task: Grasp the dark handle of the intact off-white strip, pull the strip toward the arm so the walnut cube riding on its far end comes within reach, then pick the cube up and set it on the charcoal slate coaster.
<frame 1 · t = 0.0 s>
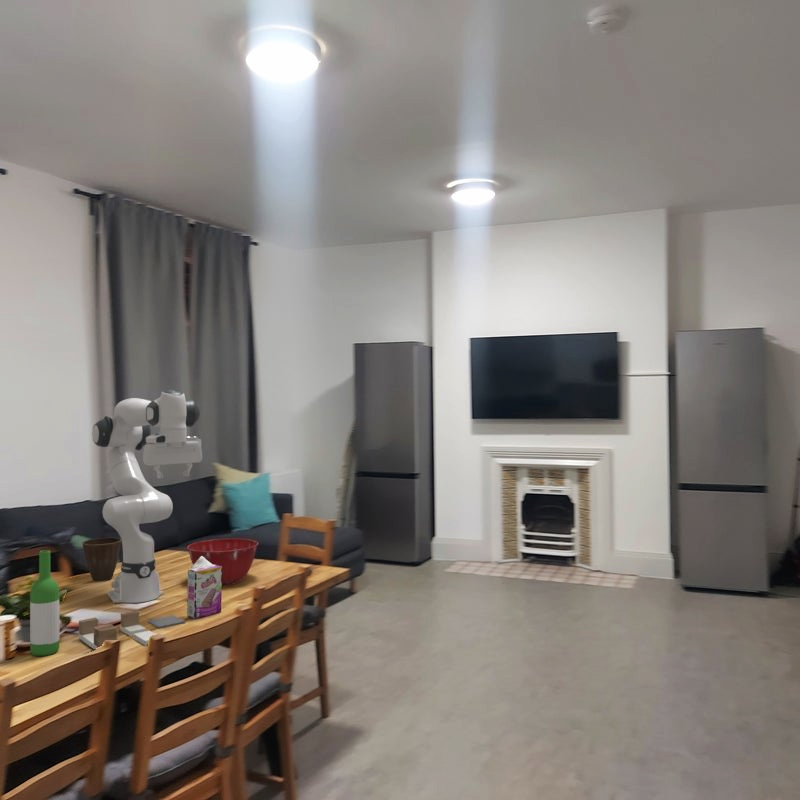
hand: (173, 477, 252), 48 cm above the table, fingers open, 8 cm apart
coaster: (166, 622, 245), on the table
plant pot: (101, 579, 304), on the table
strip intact: (98, 635, 222), point 3 cm above the table, slide at 0.0 cm, touching cube
cube: (105, 644, 218), point 2 cm above the table, touching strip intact
mixing bowl: (223, 582, 300), on the table
strip broken: (140, 636, 231), on the table
candy bar box: (204, 615, 254), on the table
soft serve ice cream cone: (202, 598, 275), on the table
wine bottle: (44, 653, 216), on the table
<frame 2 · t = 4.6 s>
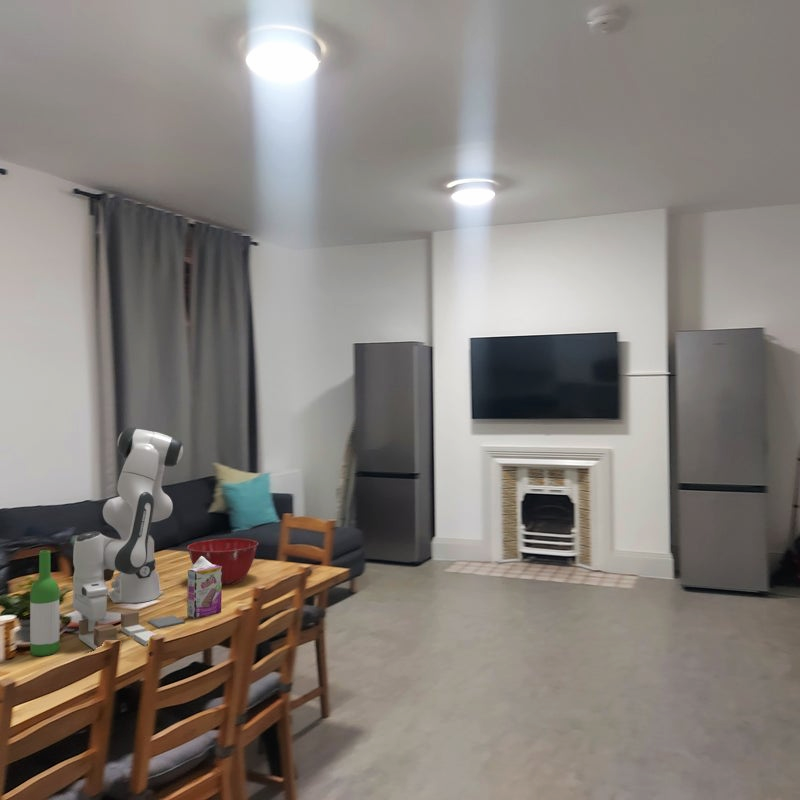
hand: (88, 629, 228), 3 cm above the table, fingers closed on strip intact, 2 cm apart
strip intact: (98, 635, 222), point 3 cm above the table, slide at 0.0 cm, touching cube, gripper
everything else where it was.
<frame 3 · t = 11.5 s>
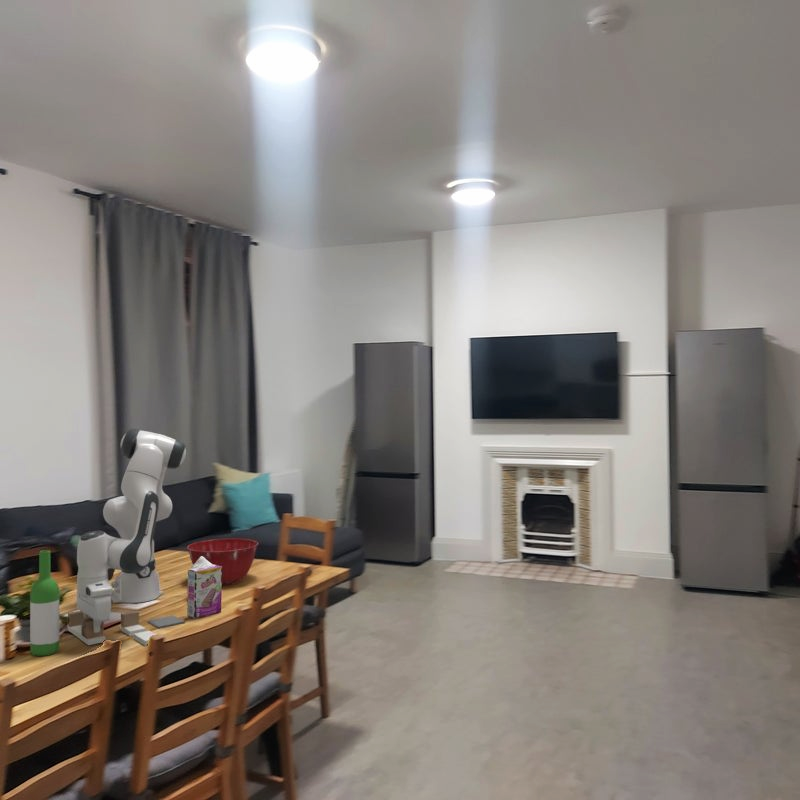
hand: (92, 629, 226), 4 cm above the table, fingers closed on cube, 5 cm apart
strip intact: (85, 626, 230), point 3 cm above the table, slide at 11.0 cm, touching cube
cube: (92, 635, 226), point 2 cm above the table, touching gripper, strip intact
everything else where it was.
when the fingers open (4 cm above the table, at t = 17.4 s): cube drops 1 cm, resting on coaster.
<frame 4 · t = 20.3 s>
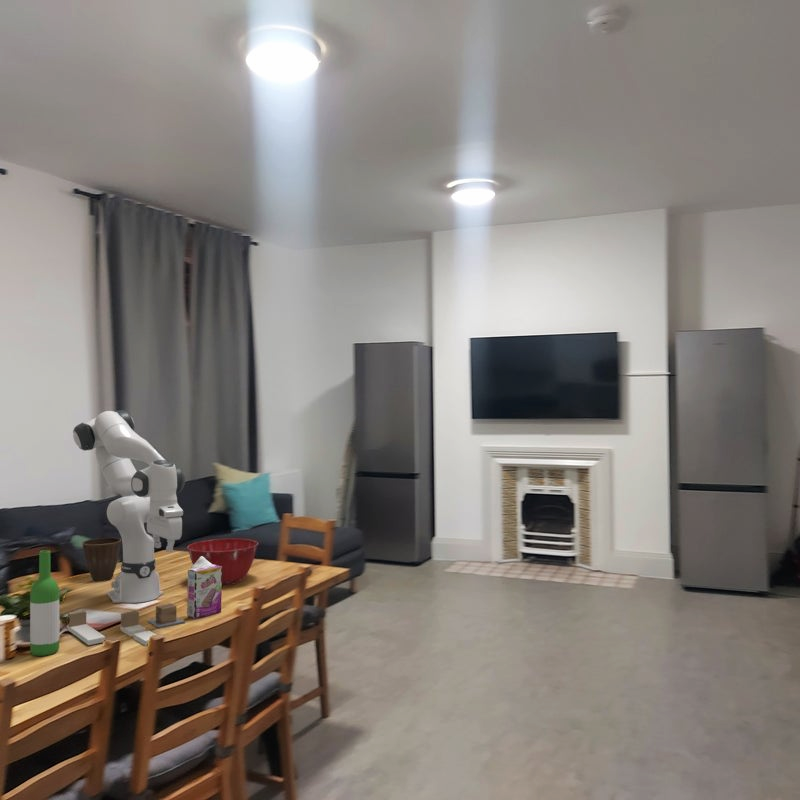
hand: (163, 549, 246), 24 cm above the table, fingers open, 8 cm apart
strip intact: (85, 626, 230), point 3 cm above the table, slide at 11.0 cm
cube: (166, 620, 245), point 1 cm above the table, touching coaster
everything else where it was.
at the end: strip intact slide at 11.0 cm; cube inside the target area on the coaster (0.0 cm from its centre), point 0.6 cm above the coaster's base; cube tilted 0° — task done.
